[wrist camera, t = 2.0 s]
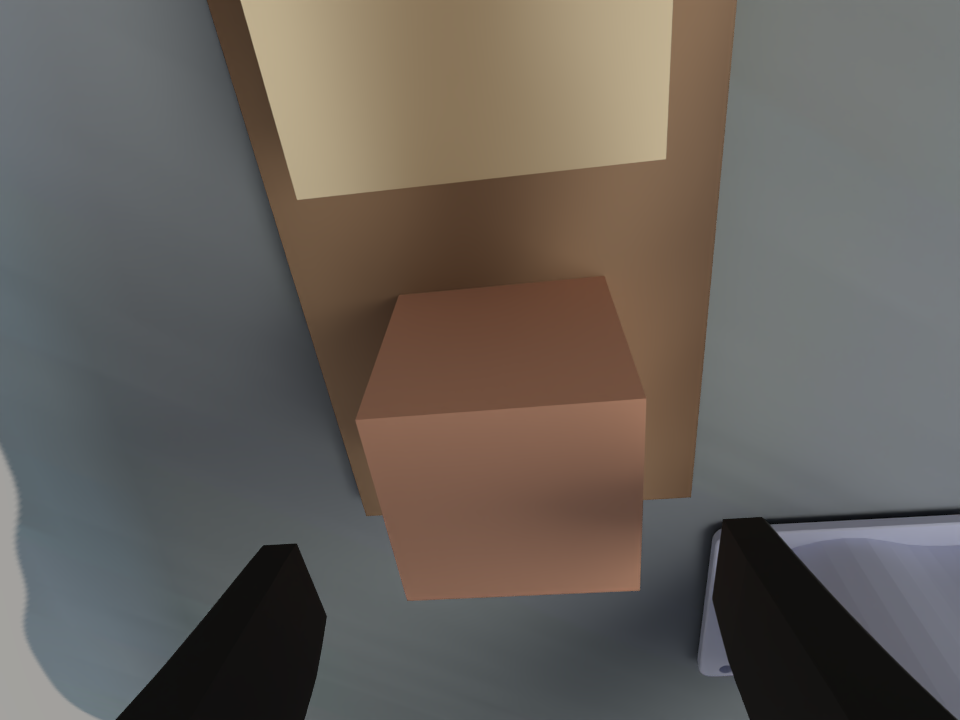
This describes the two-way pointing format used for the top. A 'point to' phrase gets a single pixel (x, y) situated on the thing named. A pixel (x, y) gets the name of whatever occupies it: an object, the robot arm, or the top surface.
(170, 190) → the top surface
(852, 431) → the top surface
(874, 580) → the robot arm
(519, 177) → the base plate
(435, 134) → the birch block
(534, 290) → the terracotta block
